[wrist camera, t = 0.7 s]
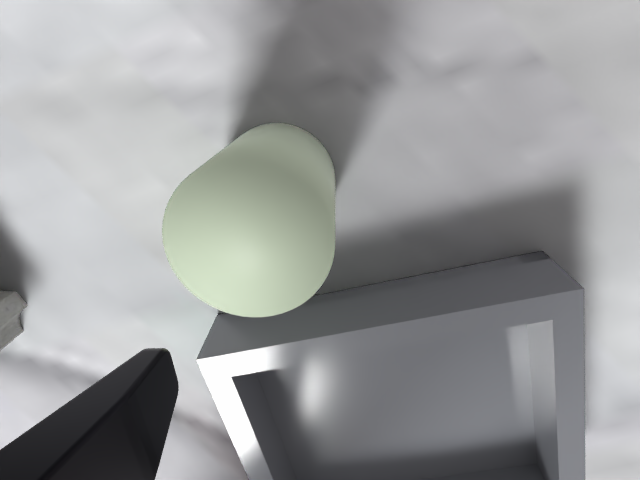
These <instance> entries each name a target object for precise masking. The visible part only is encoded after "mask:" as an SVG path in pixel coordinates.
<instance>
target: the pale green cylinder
mask: <svg viewBox="0 0 640 480" xmlns="http://www.w3.org/2000/svg"><path fill="white" fill-rule="evenodd" d="M162 237H163V245H164V249H165V253H166V256H167V259H168V262H169V264H170V266H171V268H172V270H173V271H174V273H175V274H176V276H177V277H178V279H179V280H180V281H181V283H182V284H183V285H184V286H185V287H186V288H187V289H188V290H189V291H190V292H191V293H192V294H193V295H194V296H196V297H197V298H198V299H200V300H201V301H203V302H204V303H206V304H208V305H209V306H211V307H213V308H216V309H218V310H220V311H223V312H226V313H229V314H232V315H237V316H243V317H268V316H274V315H278V314H282V313H285V312H287V311H290V310H292V309H294V308H296V307H298V306H300V305H302V304H303V303H304V302H306V301H307V300H308V299H310V298H311V297H312V296H313V295H314V294H315V293H316V292H317V291H318V290H319V288H320V287H321V286H322V285H323V283H324V281H325V280H326V278H327V276H328V274H329V272H330V269H331V267H332V263H333V259H334V253H335V172H334V167H333V164H332V160H331V158H330V156H329V154H328V152H327V151H326V149H325V148H324V146H323V145H322V144H321V143H320V142H319V141H318V140H317V139H316V138H315V137H314V136H313V135H311V134H310V133H309V132H307V131H305V130H303V129H301V128H299V127H296V126H294V125H290V124H286V123H268V124H262V125H259V126H256V127H254V128H252V129H250V130H248V131H246V132H245V133H244V134H242V135H241V136H240V137H238V138H237V139H236V140H234V141H233V142H232V143H230V144H229V145H228V146H226V147H225V148H224V149H223V150H221V151H220V152H219V153H217V154H216V155H215V156H213V157H212V158H211V159H210V160H208V161H207V162H206V163H204V164H203V165H202V166H200V167H199V168H198V169H197V170H195V171H194V172H193V173H191V174H190V175H189V176H188V177H187V178H186V179H184V180H183V181H182V182H181V183H180V185H179V186H178V187H177V188H176V190H175V191H174V193H173V194H172V196H171V198H170V199H169V202H168V204H167V207H166V209H165V213H164V218H163V225H162Z"/></svg>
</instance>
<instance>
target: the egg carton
mask: <svg viewBox="0 0 640 480" xmlns="http://www.w3.org/2000/svg"><path fill="white" fill-rule="evenodd" d="M26 307H27V304H26V303H25V301H24V300H23V299H22V298H21V296H20V295H19V294H18V293H17V292H16V291H1V290H0V351H1V350H2V349H3V348H4V347H5V346H6V345H8V344H9V343H10V342H11V341H12V340H13V339H14V338H16V337H17V336H18V335H19V334H21V333H22V332H23V329H22V327H21V324H20V319H19V316H20V314H21V311H23V309H24V308H26Z"/></svg>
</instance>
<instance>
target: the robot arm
mask: <svg viewBox="0 0 640 480" xmlns="http://www.w3.org/2000/svg"><path fill="white" fill-rule="evenodd" d="M177 395H178V380H177V376H176V372H175V369H174V365H173V361H172V358H171V355H170V352H169V351H168V350H167V349H165V348H148V349H144V350H142V351H140V352H139V353H138V354H136V355H135V356H133V357H132V358H130V359H129V360H128V361H126V362H125V363H123V364H122V365H120V366H119V367H118V368H116V369H115V370H113V371H112V372H111V373H109V374H108V375H106V376H105V377H103V378H102V379H101V380H99V381H98V382H96V383H95V384H93V385H92V386H91V387H89V388H88V389H86V390H85V391H83V392H82V393H81V394H79V395H78V396H76V397H75V398H73V399H72V400H71V401H69V402H68V403H66V404H65V405H64V406H62V407H61V408H59V409H58V410H56V411H55V412H54V413H52V414H51V415H49V416H48V417H46V418H45V419H44V420H42V421H41V422H39V423H38V424H36V425H35V426H34V427H32V428H31V429H29V430H28V431H26V432H25V433H24V434H22V435H21V436H19V437H18V438H16V439H15V440H14V441H12V442H11V443H9V444H8V445H7V446H5V447H4V448H2V449H1V450H0V480H155V477H156V473H157V470H158V466H159V463H160V459H161V455H162V452H163V448H164V444H165V440H166V437H167V433H168V429H169V426H170V422H171V418H172V414H173V411H174V407H175V403H176V399H177Z"/></svg>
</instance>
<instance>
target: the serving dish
mask: <svg viewBox="0 0 640 480" xmlns="http://www.w3.org/2000/svg"><path fill="white" fill-rule="evenodd" d="M196 361H197V363H198V365H199V368H200V370H201V372H202V374H203V377H204V379H205V381H206V383H207V386H208V388H209V390H210V393H211V395H212V397H213V399H214V402H215V404H216V406H217V408H218V411H219V413H220V415H221V417H222V420H223V422H224V424H225V427H226V429H227V431H228V433H229V436H230V438H231V440H232V442H233V445H234V447H235V449H236V451H237V454H238V456H239V458H240V460H241V463H242V465H243V467H244V470H245V472H246V474H247V476H248V479H249V480H585V361H584V288H583V287H582V286H581V285H580V284H578V283H577V282H576V281H575V280H574V279H573V278H572V277H571V276H570V275H569V274H567V273H566V272H565V271H564V270H563V269H562V268H561V267H560V266H559V265H558V264H557V263H555V262H554V261H553V260H552V259H551V258H550V257H549V256H548V255H547V254H546V253H544V252H543V251H540V252H535V253H530V254H525V255H520V256H514V257H509V258H504V259H499V260H494V261H489V262H484V263H479V264H474V265H469V266H464V267H459V268H454V269H449V270H443V271H438V272H433V273H428V274H423V275H418V276H413V277H408V278H403V279H398V280H393V281H388V282H383V283H377V284H372V285H367V286H362V287H357V288H352V289H347V290H342V291H337V292H332V293H327V294H322V295H317V296H312V297H311V298H310V299H308V300H307V301H306V302H304V303H303V304H302V305H300V306H298V307H296V308H294V309H292V310H290V311H287V312H285V313H282V314H278V315H274V316H268V317H243V316H237V315H232V314H229V313H225V314H220V315H217V317H216V319H215V321H214V323H213V325H212V327H211V329H210V331H209V334H208V336H207V338H206V340H205V342H204V344H203V346H202V349H201V351H200V353H199V355H198V357H197V359H196Z"/></svg>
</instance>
